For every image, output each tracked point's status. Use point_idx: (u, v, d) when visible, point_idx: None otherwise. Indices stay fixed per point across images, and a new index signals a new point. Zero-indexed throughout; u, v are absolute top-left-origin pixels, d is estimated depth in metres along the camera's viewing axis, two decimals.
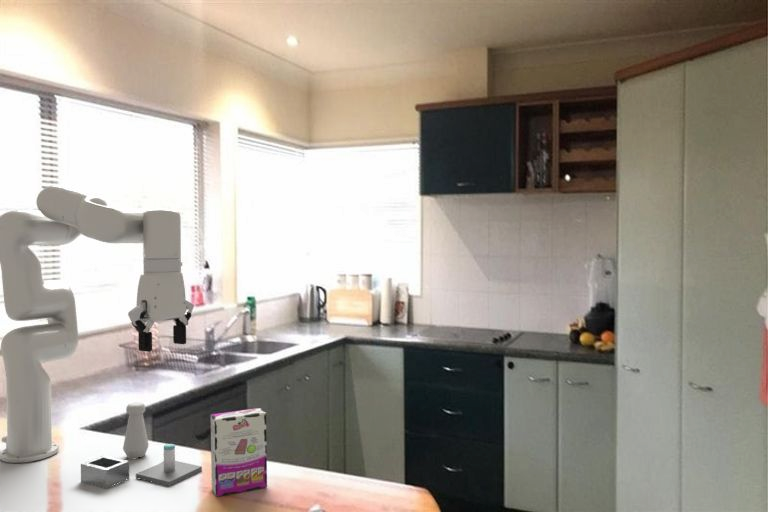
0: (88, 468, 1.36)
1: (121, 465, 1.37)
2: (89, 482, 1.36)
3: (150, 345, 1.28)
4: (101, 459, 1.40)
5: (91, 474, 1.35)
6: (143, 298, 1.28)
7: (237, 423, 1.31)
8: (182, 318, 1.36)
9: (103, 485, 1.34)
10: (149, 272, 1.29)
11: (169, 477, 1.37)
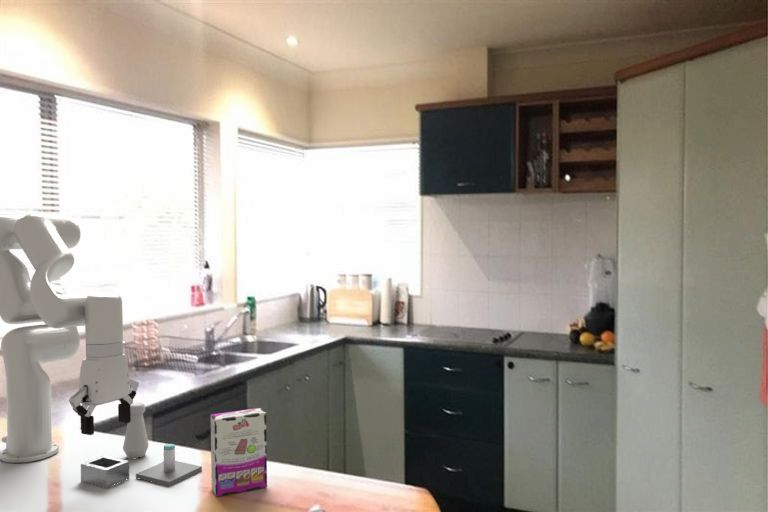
0: (88, 468, 1.36)
1: (121, 465, 1.37)
2: (89, 482, 1.36)
3: (92, 429, 1.32)
4: (101, 459, 1.40)
5: (91, 474, 1.35)
6: (85, 383, 1.32)
7: (237, 423, 1.31)
8: (126, 398, 1.40)
9: (103, 485, 1.34)
10: (90, 357, 1.33)
11: (169, 477, 1.37)
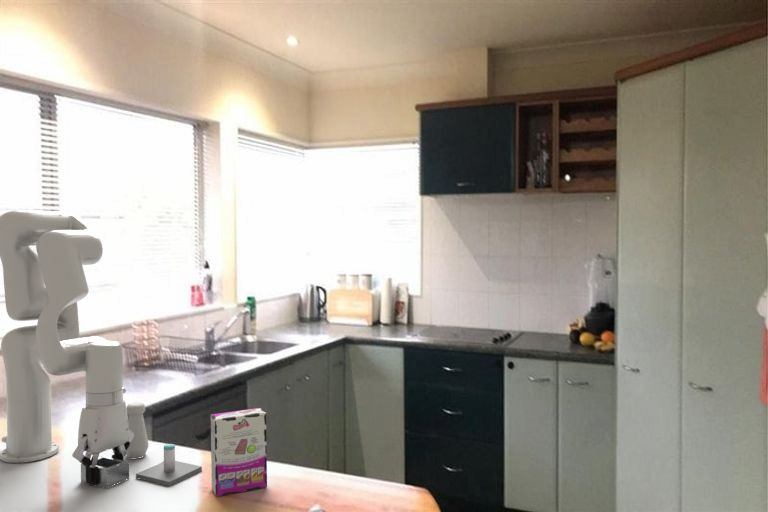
0: None
1: (121, 465, 1.37)
2: None
3: (96, 479, 1.34)
4: (101, 459, 1.40)
5: None
6: (84, 432, 1.33)
7: (237, 423, 1.31)
8: (121, 448, 1.40)
9: (103, 485, 1.34)
10: (90, 406, 1.34)
11: (169, 477, 1.37)
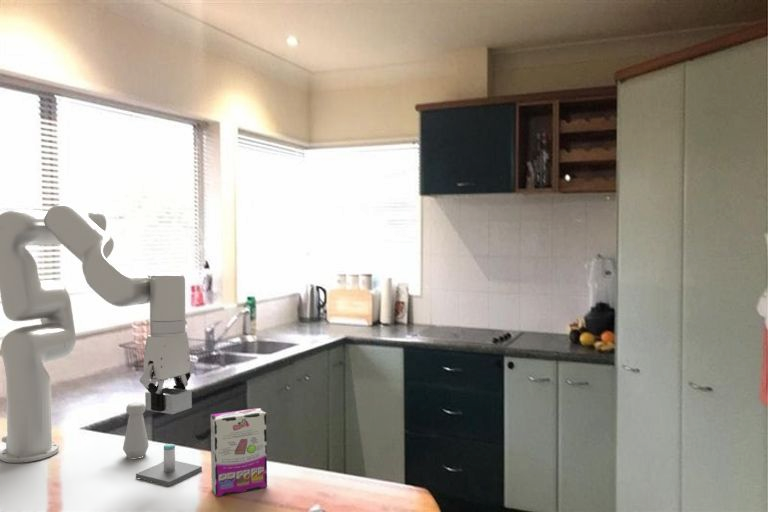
0: None
1: (185, 393, 1.40)
2: None
3: (162, 405, 1.37)
4: (164, 389, 1.44)
5: None
6: (150, 359, 1.36)
7: (237, 423, 1.31)
8: (183, 378, 1.43)
9: (168, 411, 1.37)
10: (155, 334, 1.37)
11: (169, 477, 1.37)
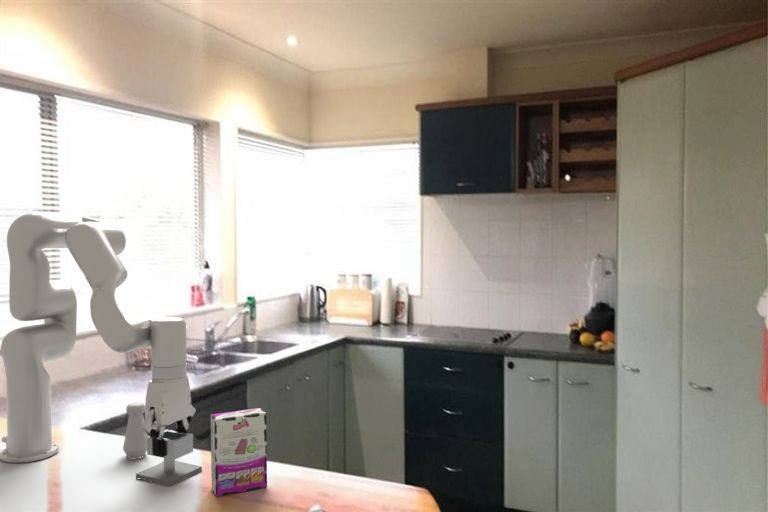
0: None
1: (186, 438, 1.40)
2: None
3: (163, 451, 1.37)
4: (165, 433, 1.44)
5: None
6: (151, 405, 1.37)
7: (237, 423, 1.31)
8: (184, 421, 1.43)
9: (170, 457, 1.37)
10: (157, 379, 1.37)
11: (169, 477, 1.37)
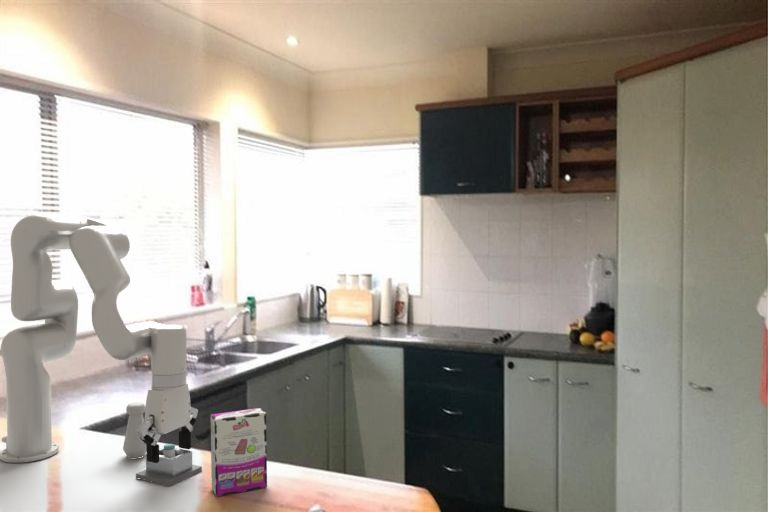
0: None
1: (185, 455, 1.41)
2: (155, 472, 1.39)
3: (157, 457, 1.36)
4: None
5: (157, 464, 1.39)
6: (151, 413, 1.37)
7: (237, 423, 1.31)
8: (187, 425, 1.44)
9: (169, 474, 1.37)
10: (157, 387, 1.37)
11: (169, 477, 1.37)
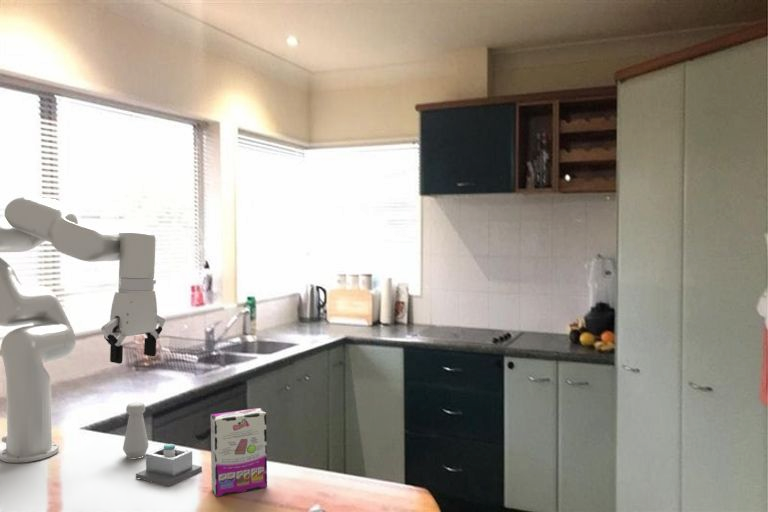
0: (154, 458, 1.39)
1: (185, 455, 1.41)
2: (155, 472, 1.39)
3: (120, 358, 1.38)
4: None
5: (157, 464, 1.39)
6: (116, 314, 1.39)
7: (237, 423, 1.31)
8: (153, 332, 1.47)
9: (169, 474, 1.37)
10: (123, 290, 1.39)
11: (169, 477, 1.37)
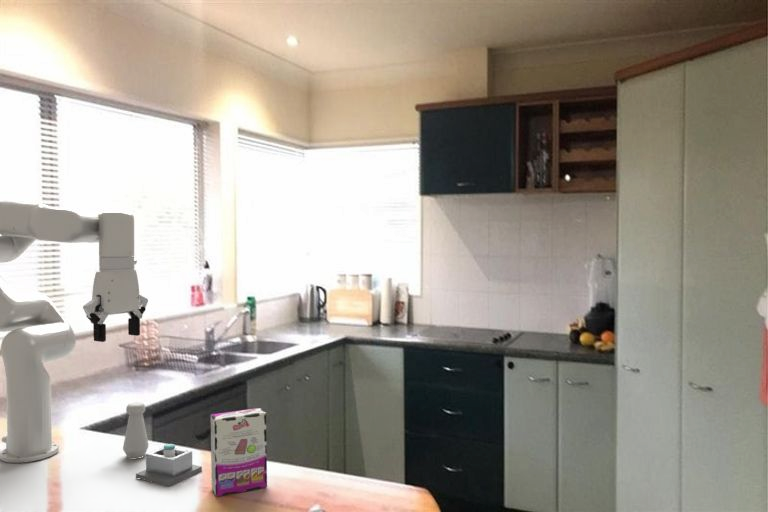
0: (154, 458, 1.39)
1: (185, 455, 1.41)
2: (155, 472, 1.39)
3: (104, 336, 1.40)
4: None
5: (157, 464, 1.39)
6: (98, 293, 1.40)
7: (237, 423, 1.31)
8: (136, 311, 1.48)
9: (169, 474, 1.37)
10: (104, 269, 1.41)
11: (169, 477, 1.37)
